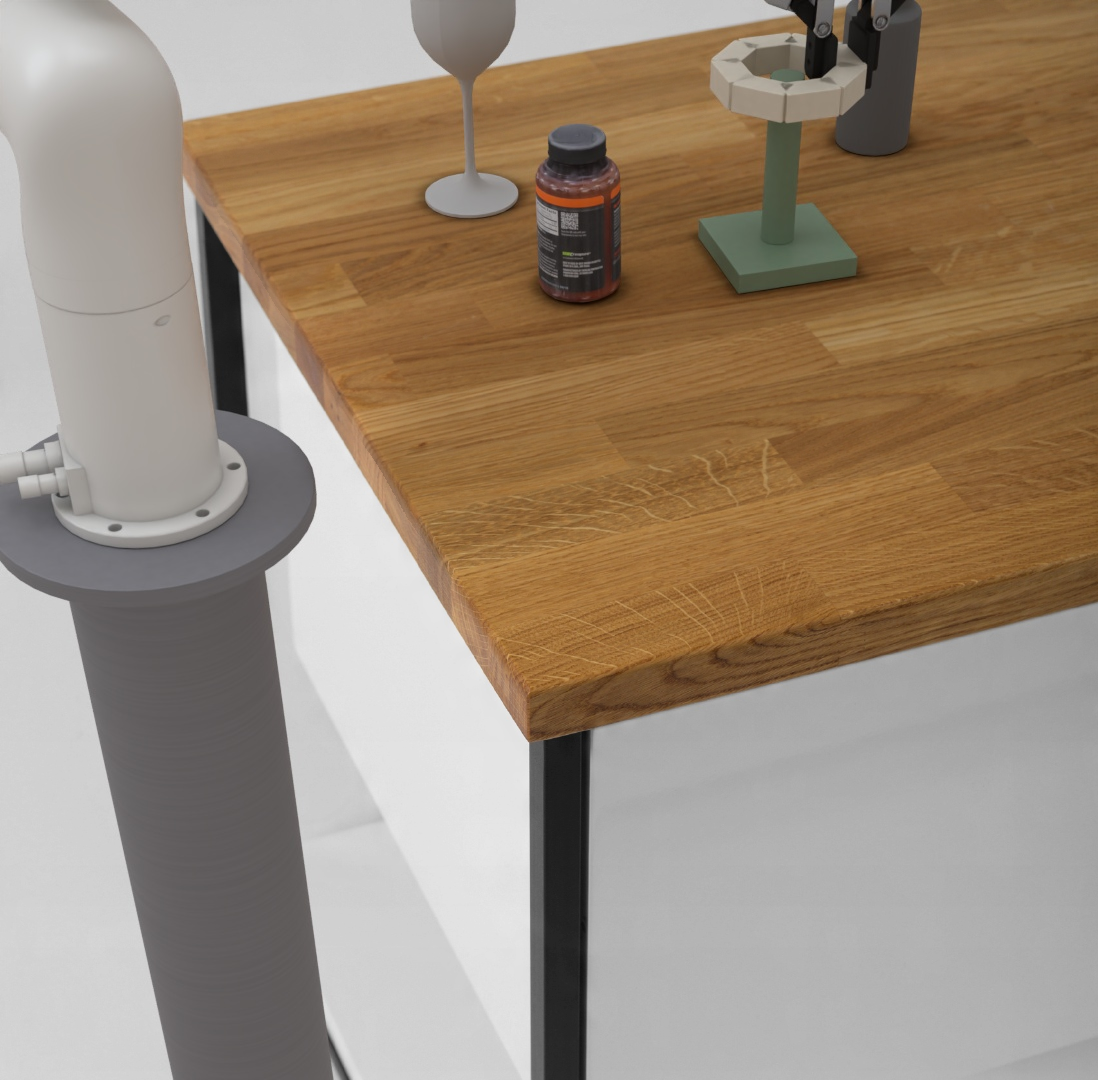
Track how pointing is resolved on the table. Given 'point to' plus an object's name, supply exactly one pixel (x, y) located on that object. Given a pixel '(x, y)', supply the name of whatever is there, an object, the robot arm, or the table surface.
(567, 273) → the supplement bottle
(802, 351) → the table surface
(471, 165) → the wineglass
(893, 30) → the bottle
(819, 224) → the stand
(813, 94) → the ring
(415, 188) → the table surface
